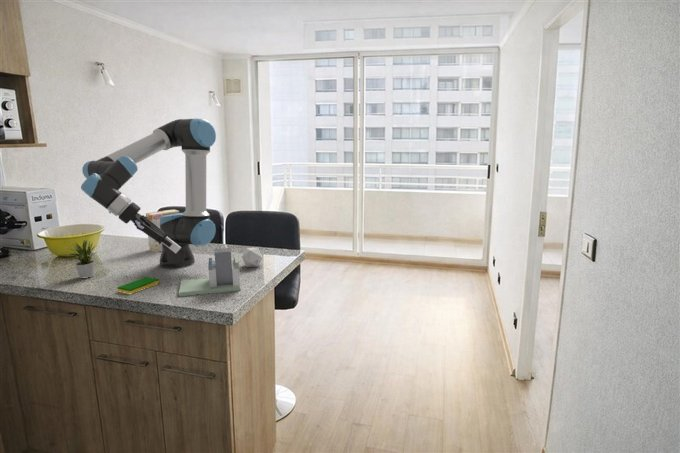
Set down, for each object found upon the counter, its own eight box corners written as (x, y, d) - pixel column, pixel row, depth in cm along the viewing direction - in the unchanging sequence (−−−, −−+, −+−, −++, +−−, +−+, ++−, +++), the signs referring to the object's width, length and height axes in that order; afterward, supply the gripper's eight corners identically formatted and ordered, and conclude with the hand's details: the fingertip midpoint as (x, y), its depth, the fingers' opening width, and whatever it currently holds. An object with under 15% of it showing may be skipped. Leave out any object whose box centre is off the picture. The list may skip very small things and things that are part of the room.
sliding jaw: (210, 277, 177) (208, 257, 176) (216, 277, 178) (215, 257, 176) (209, 288, 165) (208, 267, 164) (216, 287, 166) (215, 266, 164)
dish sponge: (159, 284, 177) (159, 278, 177) (130, 295, 165) (130, 289, 164) (146, 282, 180) (146, 276, 179) (117, 293, 168) (116, 287, 167)
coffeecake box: (177, 244, 238) (174, 209, 234) (182, 247, 233) (179, 210, 229) (148, 249, 229) (145, 212, 225) (154, 252, 223) (150, 214, 219)
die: (252, 271, 193) (265, 251, 194) (235, 261, 194) (247, 241, 195) (256, 272, 201) (268, 253, 203) (239, 262, 202) (251, 243, 203)
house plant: (69, 273, 191) (64, 236, 187) (105, 269, 196) (100, 233, 193) (63, 283, 178) (58, 244, 174) (102, 278, 183) (97, 240, 180)
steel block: (216, 280, 174) (214, 248, 172) (232, 279, 176) (230, 247, 173) (216, 285, 169) (214, 252, 166) (233, 284, 170) (230, 251, 168)
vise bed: (181, 284, 176) (179, 257, 173) (238, 278, 181) (236, 253, 179) (179, 296, 162) (176, 267, 160) (240, 290, 168) (238, 262, 166)
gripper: (121, 213, 164) (173, 253, 172) (113, 220, 152) (170, 262, 160) (134, 198, 164) (186, 239, 172) (128, 204, 152) (184, 247, 160)
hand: (178, 250), depth 166 cm, fingers closed
